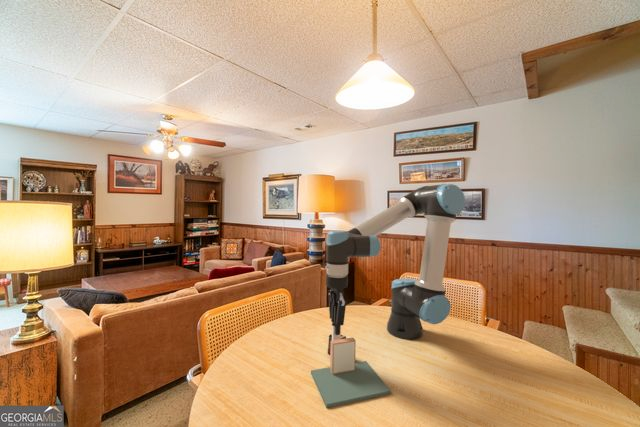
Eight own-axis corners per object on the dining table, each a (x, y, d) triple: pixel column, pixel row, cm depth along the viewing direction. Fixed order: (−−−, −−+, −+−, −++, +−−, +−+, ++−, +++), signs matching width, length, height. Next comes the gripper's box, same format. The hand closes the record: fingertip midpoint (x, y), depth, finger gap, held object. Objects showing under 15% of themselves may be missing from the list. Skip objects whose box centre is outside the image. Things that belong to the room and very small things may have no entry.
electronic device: (346, 364, 94) (347, 343, 94) (326, 354, 101) (327, 334, 101) (354, 359, 98) (354, 338, 98) (334, 349, 104) (334, 330, 104)
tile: (352, 366, 91) (353, 337, 91) (355, 370, 89) (355, 340, 89) (330, 370, 89) (330, 340, 89) (332, 374, 87) (332, 343, 87)
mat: (366, 363, 95) (366, 360, 95) (390, 393, 80) (391, 390, 80) (310, 373, 89) (310, 370, 89) (326, 407, 74) (326, 404, 74)
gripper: (321, 271, 99) (320, 335, 100) (333, 280, 87) (332, 353, 88) (340, 270, 102) (339, 332, 102) (354, 279, 89) (353, 350, 90)
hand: (336, 342), depth 95 cm, fingers closed
